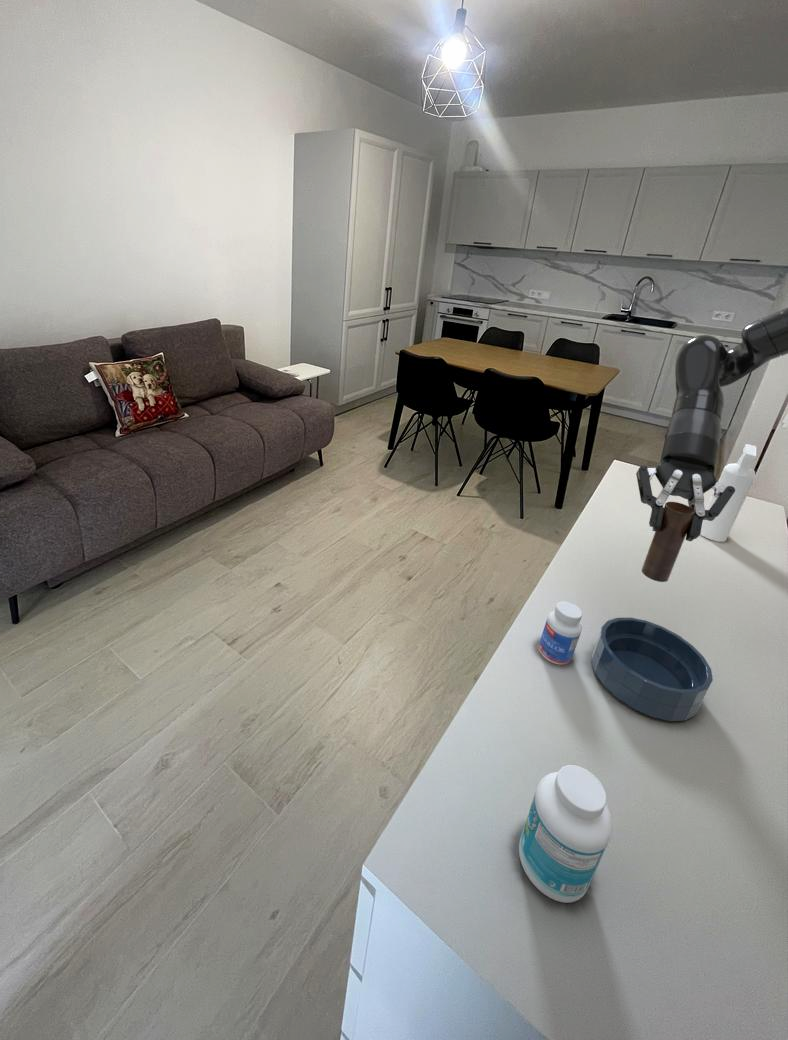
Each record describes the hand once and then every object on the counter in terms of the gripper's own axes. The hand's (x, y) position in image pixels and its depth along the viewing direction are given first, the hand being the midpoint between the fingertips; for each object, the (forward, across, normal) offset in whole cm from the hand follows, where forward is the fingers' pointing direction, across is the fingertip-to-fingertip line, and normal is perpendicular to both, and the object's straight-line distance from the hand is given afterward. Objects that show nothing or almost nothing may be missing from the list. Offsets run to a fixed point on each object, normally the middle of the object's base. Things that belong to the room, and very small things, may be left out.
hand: (673, 534), depth 79 cm
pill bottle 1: (+23, -11, +11) cm, 28 cm away
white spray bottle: (-25, +19, +59) cm, 67 cm away
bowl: (+22, +2, +12) cm, 25 cm away
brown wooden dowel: (+5, 0, +8) cm, 9 cm away
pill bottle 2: (+47, -8, -13) cm, 50 cm away
